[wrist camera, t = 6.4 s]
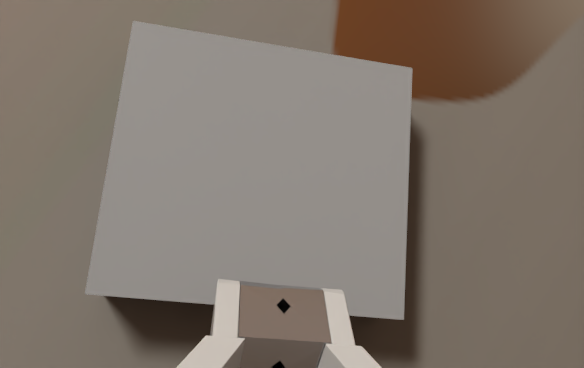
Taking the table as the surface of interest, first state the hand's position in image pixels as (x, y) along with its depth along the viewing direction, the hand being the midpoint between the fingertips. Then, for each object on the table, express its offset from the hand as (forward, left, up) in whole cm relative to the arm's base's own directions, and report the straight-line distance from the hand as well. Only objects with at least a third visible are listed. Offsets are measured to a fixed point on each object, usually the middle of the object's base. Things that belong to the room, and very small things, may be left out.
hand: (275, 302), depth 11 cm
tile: (0, 0, -5) cm, 5 cm away
